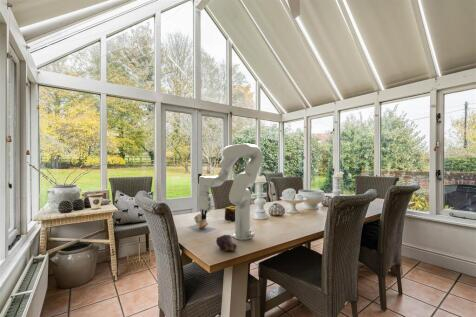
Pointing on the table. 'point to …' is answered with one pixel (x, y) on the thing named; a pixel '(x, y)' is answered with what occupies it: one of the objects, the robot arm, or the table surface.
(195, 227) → the mat
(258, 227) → the table surface
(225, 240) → the rock
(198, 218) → the maple block
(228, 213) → the candle
